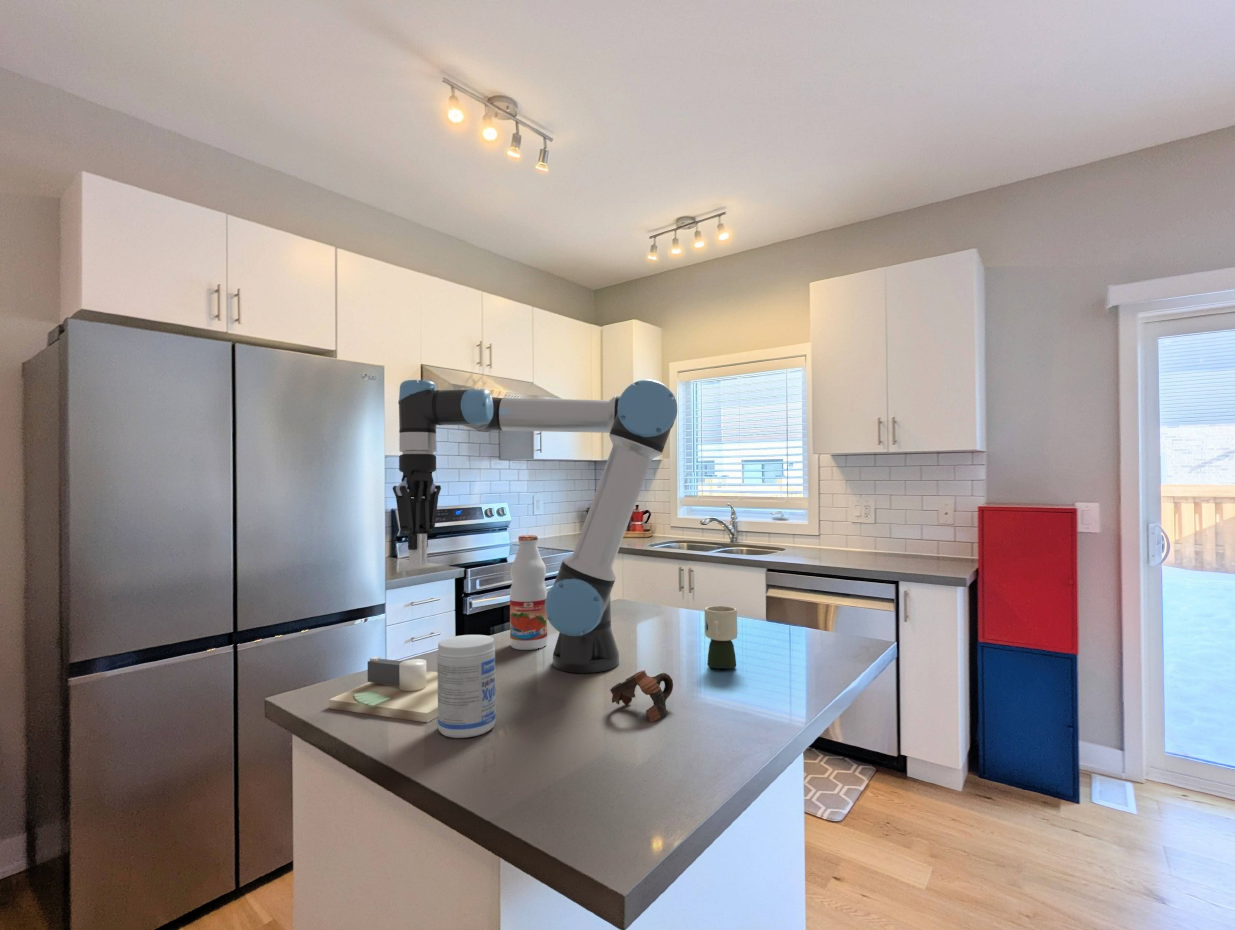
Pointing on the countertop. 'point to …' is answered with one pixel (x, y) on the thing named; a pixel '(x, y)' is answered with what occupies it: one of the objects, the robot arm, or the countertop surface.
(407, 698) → the board
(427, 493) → the robot arm
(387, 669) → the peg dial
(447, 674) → the supplement tub
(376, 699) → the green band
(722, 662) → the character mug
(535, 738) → the countertop surface
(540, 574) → the fruit juice
